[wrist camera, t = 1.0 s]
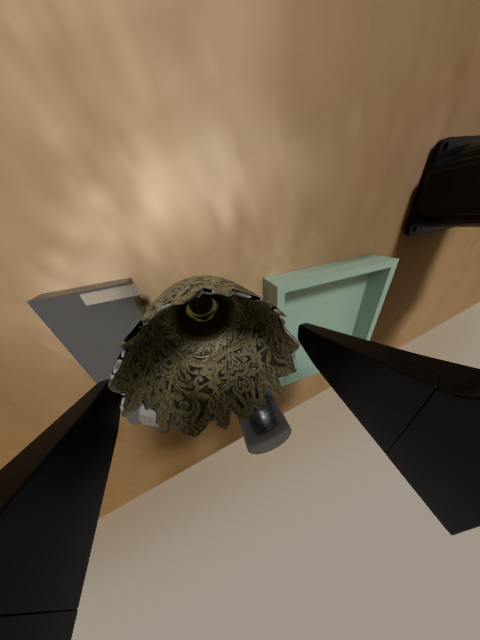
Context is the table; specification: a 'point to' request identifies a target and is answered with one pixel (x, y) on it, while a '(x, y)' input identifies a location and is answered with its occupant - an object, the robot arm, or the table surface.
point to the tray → (331, 300)
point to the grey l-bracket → (93, 323)
